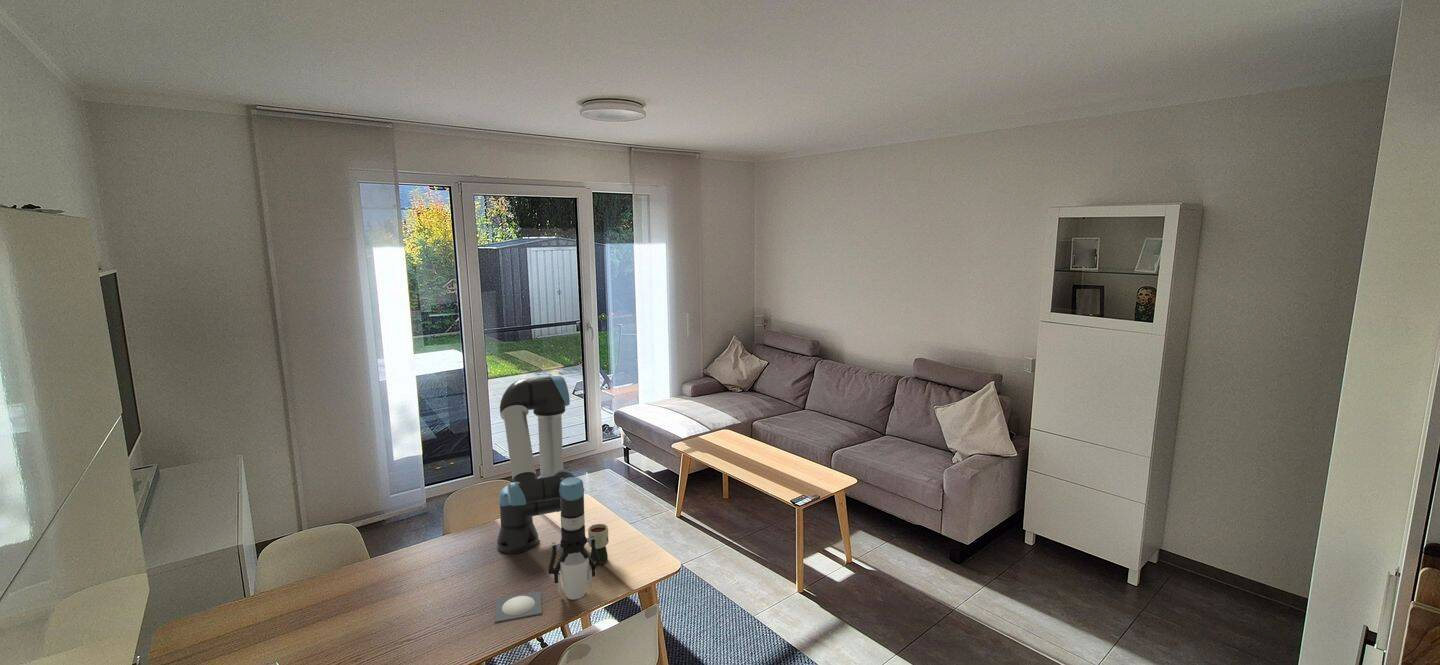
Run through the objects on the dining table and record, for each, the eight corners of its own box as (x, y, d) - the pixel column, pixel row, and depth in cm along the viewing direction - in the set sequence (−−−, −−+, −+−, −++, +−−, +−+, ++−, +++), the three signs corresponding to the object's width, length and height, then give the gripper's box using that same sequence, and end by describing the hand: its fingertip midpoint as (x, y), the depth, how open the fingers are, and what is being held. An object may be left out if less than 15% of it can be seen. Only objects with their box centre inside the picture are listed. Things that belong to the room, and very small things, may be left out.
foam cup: (582, 604, 195) (581, 567, 193) (556, 600, 197) (554, 564, 194) (594, 587, 204) (593, 552, 202) (568, 583, 206) (567, 548, 204)
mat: (495, 599, 197) (495, 598, 197) (540, 592, 202) (540, 590, 202) (494, 622, 186) (494, 621, 186) (542, 613, 190) (541, 612, 190)
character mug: (613, 565, 217) (612, 532, 215) (594, 571, 214) (593, 537, 212) (603, 551, 227) (602, 519, 224) (585, 556, 223) (584, 523, 221)
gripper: (538, 536, 189) (541, 601, 193) (608, 526, 196) (610, 588, 200) (537, 525, 196) (540, 587, 200) (605, 515, 203) (607, 576, 207)
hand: (575, 588), depth 200 cm, fingers closed on foam cup, 9 cm apart
